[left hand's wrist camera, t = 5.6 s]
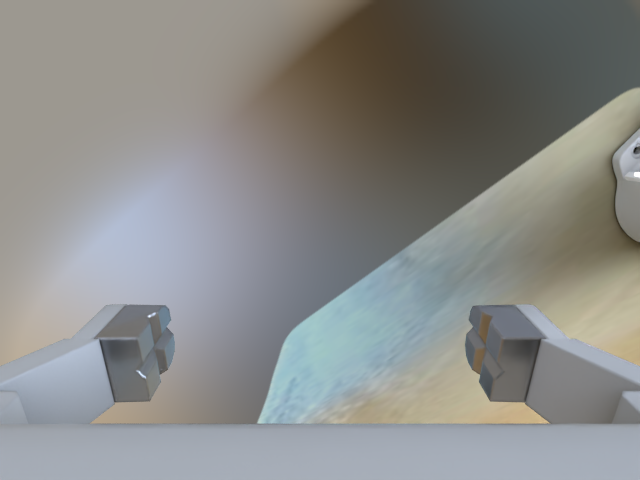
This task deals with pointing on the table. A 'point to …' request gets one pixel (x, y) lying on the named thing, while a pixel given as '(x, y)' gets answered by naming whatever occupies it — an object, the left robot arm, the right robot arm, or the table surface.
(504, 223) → the table surface
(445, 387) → the table surface
